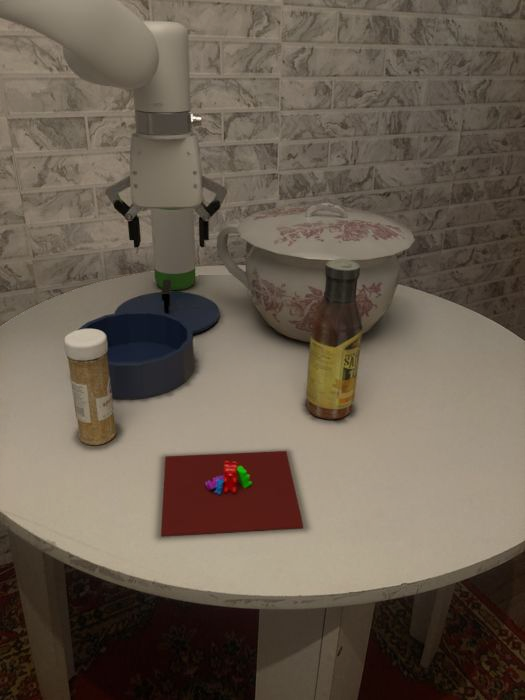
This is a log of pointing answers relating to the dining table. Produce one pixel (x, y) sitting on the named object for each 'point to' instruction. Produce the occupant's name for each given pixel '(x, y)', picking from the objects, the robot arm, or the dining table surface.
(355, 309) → the sauce bottle
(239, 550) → the dining table surface
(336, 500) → the dining table surface
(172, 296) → the lid
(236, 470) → the gummy candies
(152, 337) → the pan
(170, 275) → the wine bottle
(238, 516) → the cloth
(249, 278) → the chamber pot
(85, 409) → the spice jar
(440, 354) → the dining table surface
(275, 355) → the dining table surface
